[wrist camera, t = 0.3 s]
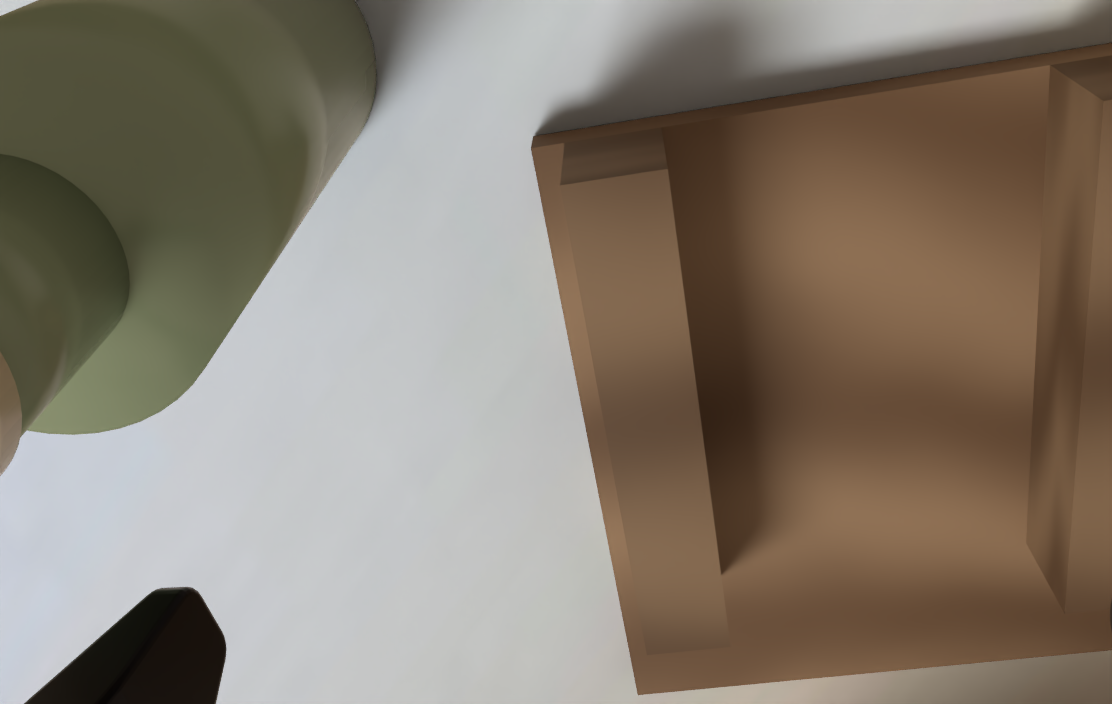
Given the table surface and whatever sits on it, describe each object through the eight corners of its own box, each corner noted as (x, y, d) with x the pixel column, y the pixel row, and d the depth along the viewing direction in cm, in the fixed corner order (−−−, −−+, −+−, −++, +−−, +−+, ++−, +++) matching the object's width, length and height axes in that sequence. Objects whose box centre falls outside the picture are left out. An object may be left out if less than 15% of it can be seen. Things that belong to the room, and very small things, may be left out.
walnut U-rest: (1113, 626, 28) (1170, 724, 25) (637, 673, 30) (640, 770, 27) (1176, 32, 21) (1269, 75, 18) (533, 136, 22) (522, 191, 19)
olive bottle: (403, 161, 23) (169, 622, 10) (177, 197, 23) (-290, 672, 11) (337, -94, 20) (-70, 121, 8) (87, -46, 21) (-642, 222, 9)
